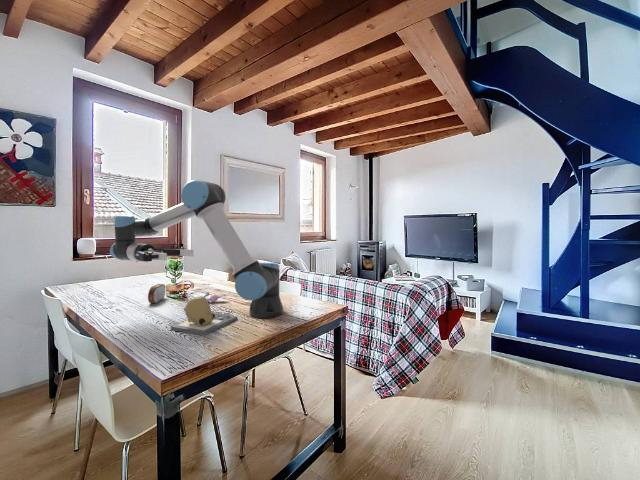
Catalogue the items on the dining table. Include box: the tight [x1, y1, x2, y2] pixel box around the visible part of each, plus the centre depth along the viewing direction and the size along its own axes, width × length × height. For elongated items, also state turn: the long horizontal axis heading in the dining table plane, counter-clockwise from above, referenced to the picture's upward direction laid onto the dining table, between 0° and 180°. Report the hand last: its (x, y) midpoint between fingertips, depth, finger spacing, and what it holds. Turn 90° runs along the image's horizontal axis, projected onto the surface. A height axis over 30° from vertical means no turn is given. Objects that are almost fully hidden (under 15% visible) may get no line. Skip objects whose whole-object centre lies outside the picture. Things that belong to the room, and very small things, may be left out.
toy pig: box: [183, 295, 215, 326], centre depth 123 cm, size 10×12×11 cm
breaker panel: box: [170, 309, 238, 336], centre depth 126 cm, size 16×20×3 cm
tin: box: [147, 283, 167, 304], centre depth 160 cm, size 15×3×8 cm, turn 4°
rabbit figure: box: [203, 291, 228, 303], centre depth 158 cm, size 6×6×15 cm
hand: (180, 254), depth 125 cm, fingers open, 13 cm apart
